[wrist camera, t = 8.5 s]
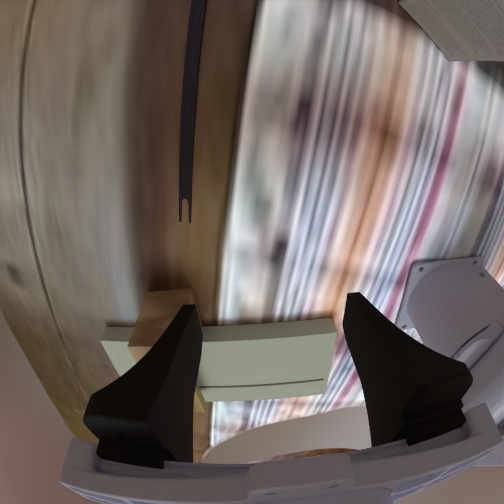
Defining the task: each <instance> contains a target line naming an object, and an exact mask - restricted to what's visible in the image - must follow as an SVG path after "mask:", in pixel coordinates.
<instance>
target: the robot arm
mask: <svg viewBox="0 0 504 504" xmlns="http://www.w3.org/2000/svg"><path fill="white" fill-rule="evenodd" d="M483 263H484V258H483V257H482V256H476V257H468V258H459V259H450V260H441V261H431V262H422V263H415V264H413V265H412V267H411V270H410V274H409V278H408V282H407V286H406V290H405V293H404V297H403V300H402V304H401V307H400V311H399V314H398V317H397V321H396V324H395V325H394V324H393V323H392V322H391V321H390V320H388V319H387V318H386V317H385V316H384V315H383V314H382V313H381V312H380V311H379V310H377V309H376V308H375V307H374V306H373V305H372V304H371V303H370V302H369V301H368V300H367V299H366V298H365V297H364V296H363V295H362V294H361V293H360V292H355V293H347V300H346V306H345V312H344V318H343V324H342V325H343V329H344V334H345V338H346V342H347V345H348V348H349V350H350V353H351V356H352V359H353V361H354V364H355V367H356V369H357V372H358V375H359V378H360V381H361V384H362V388H363V393H364V398H365V403H366V408H367V413H368V420H369V426H370V434H371V444H372V447H371V448H367V449H362V450H358V451H353V452H348V453H343V454H342V453H337V454H327V455H320V456H313V457H305V458H297V459H287V460H275V461H267V462H260V463H250V464H206V463H193V409H194V395H195V388H196V383H197V377H198V372H199V366H200V361H201V355H202V340H203V334H202V329H201V325H200V321H199V317H198V313H197V308H196V304H188V305H182V306H181V308H180V309H179V311H178V312H177V314H176V315H175V317H174V318H173V320H172V321H171V323H170V324H169V326H168V327H167V328H166V330H165V331H164V333H163V334H162V335H161V337H160V338H159V339H158V340H157V341H156V343H155V344H154V345H153V346H152V348H151V349H150V350H149V351H148V352H147V353H146V354H145V355H144V356H143V357H142V358H141V359H140V360H139V361H138V362H137V363H136V364H135V365H134V366H133V367H132V368H130V369H129V370H128V371H127V372H126V373H124V374H123V375H122V376H121V377H119V378H118V379H116V380H115V381H113V382H112V383H111V384H109V385H107V386H106V387H104V388H102V389H101V390H99V391H97V392H95V393H94V394H92V395H91V397H90V400H89V402H88V405H87V408H86V411H85V414H84V417H83V421H84V424H85V425H86V426H87V428H88V429H89V430H90V431H91V432H92V433H93V434H94V435H95V436H96V437H97V438H98V439H99V444H98V445H96V444H94V443H91V442H88V441H83V440H79V439H75V438H72V439H71V441H70V444H69V448H68V451H67V454H66V458H65V462H64V465H63V468H62V472H61V476H60V480H59V482H60V483H61V484H63V485H64V486H66V487H68V488H69V489H71V490H73V491H75V492H76V493H78V494H81V495H82V496H84V497H85V498H87V499H90V500H94V501H97V502H100V503H104V504H393V501H394V500H397V499H400V498H402V497H405V496H408V495H410V494H413V493H415V492H418V491H420V490H423V489H424V488H427V487H429V486H432V485H434V484H436V483H438V482H441V481H443V480H445V479H447V478H449V477H451V476H453V475H455V474H457V473H459V472H461V471H464V470H466V469H468V468H469V467H471V466H473V465H474V466H504V424H503V423H504V289H503V288H502V287H501V286H500V285H499V283H498V282H497V281H496V280H495V279H494V278H493V277H492V276H491V275H490V274H489V273H488V272H487V271H486V270H485V269H484V268H483V267H482V266H483ZM421 267H422V268H421ZM420 268H421V269H420ZM410 328H415V329H416V330H417V332H418V334H419V336H420V338H421V339H422V341H423V343H424V345H423V344H421V343H420V342H418V341H416V340H415V339H413V338H412V337H410V336H409V335H407V334H406V333H405V332H403V331H402V330H404V329H410ZM501 424H503V425H502V426H500V425H501ZM499 426H500V427H499Z"/></svg>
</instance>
